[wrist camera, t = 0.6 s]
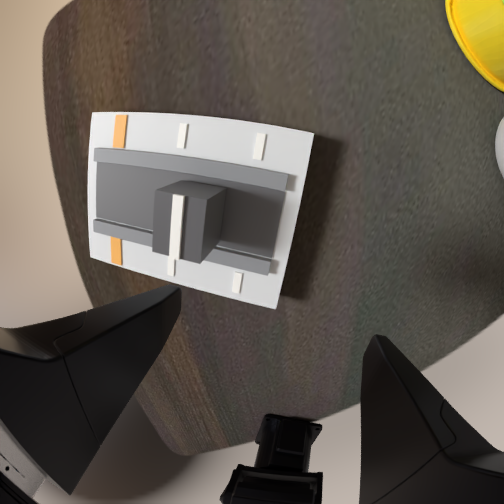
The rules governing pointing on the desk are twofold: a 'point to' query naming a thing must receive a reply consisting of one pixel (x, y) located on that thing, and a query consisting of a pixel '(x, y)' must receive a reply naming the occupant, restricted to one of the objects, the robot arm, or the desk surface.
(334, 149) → the desk surface
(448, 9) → the stacking cups
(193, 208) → the fader knob
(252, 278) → the console board
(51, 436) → the robot arm
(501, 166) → the cup
